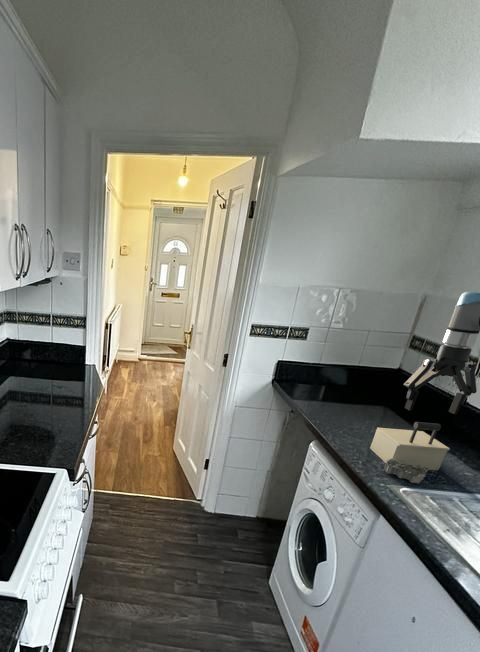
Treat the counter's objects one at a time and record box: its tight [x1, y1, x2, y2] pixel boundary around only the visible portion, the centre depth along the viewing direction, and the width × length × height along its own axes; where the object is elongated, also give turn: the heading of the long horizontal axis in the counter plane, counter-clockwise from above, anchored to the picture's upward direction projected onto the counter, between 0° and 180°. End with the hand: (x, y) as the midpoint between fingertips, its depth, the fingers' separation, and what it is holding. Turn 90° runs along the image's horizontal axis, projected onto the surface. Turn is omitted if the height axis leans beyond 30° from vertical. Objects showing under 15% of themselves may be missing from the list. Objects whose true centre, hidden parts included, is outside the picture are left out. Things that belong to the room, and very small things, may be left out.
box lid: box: [376, 421, 451, 452], centre depth 140 cm, size 14×16×8 cm
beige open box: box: [369, 429, 448, 471], centre depth 144 cm, size 14×16×8 cm
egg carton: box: [383, 459, 429, 484], centre depth 133 cm, size 11×8×4 cm
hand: (430, 411), depth 133 cm, fingers open, 13 cm apart
